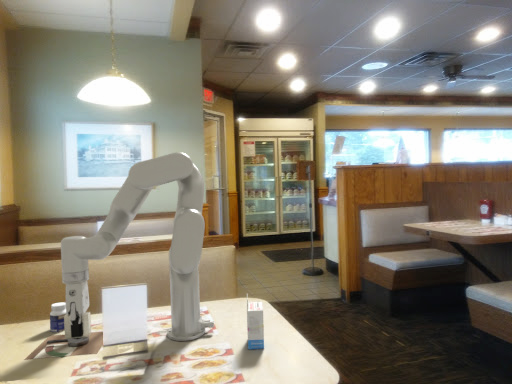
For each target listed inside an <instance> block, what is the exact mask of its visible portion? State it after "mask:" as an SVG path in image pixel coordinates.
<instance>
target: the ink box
mask: <svg viewBox="0 0 512 384" xmlns="http://www.w3.org/2000/svg"><path fill="white" fill-rule="evenodd" d="M248 296H249V295H248V293H246V325H247V326H246V327H247V343H248V344H247V346H248V350H261V349H262V350H264V349H265V333H264V330H265V329H264V327H265V326H264V307H263V302H262V301H256V302H255V301H254V302H253V301H252V302H249V301H248V300H249V299H248Z"/></svg>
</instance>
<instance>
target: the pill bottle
mask: <svg viewBox="0 0 512 384" xmlns="http://www.w3.org/2000/svg"><path fill="white" fill-rule="evenodd" d="M50 309H51V311H50V313H49V328H50V329H49V330H50V331H49V332H51V333H60V332H65V327H64V316H65V315H66V301H64V302H62V301H61V302H56V303H52V304H51V308H50Z"/></svg>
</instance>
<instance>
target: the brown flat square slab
mask: <svg viewBox="0 0 512 384" xmlns="http://www.w3.org/2000/svg"><path fill="white" fill-rule="evenodd" d="M61 339H65V334H55V335H54V334H53V335H49V336H48V337H47V338H46V339H44V340H43V342H41V343H40V344H39V345H38V346H37V347H36V348H35V349H34V350H33V351H32V352H30V354H28V355H27V356H26V357H25V358H24V359H23V360H24V361H26V360H28V361H29V360H38V359H51V358H65V357H72V356H86V355H97V354H98V353H99V351H100V350H101V349H102V347H103V345H104V344H103V331H93V332H92V331H91V335H90V336H89V342H88V343H86V344H84V345H81V346H77V347H70V346H68V342H62V343H52V344H47V341H50V340H61Z"/></svg>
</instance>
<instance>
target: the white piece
mask: <svg viewBox="0 0 512 384" xmlns="http://www.w3.org/2000/svg"><path fill="white" fill-rule="evenodd" d="M76 314H78V313H76ZM76 317H78V316H76ZM91 319H92V317H91V311H86V312H85V313H84V314H83V315H81V323H82V327H83V335H82V336H81V337H73V338H72V337H71V321H70V316H67V314H66V315H65V316H64V327H65V331H64V335H65V339H61V340H50V341H47V344H52V343H62V342H68V346H70V347H77V346H81V345H84V344H86V343H88V342H89V336H90V335H91V332H92V323H91V322H92V321H91Z"/></svg>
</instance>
